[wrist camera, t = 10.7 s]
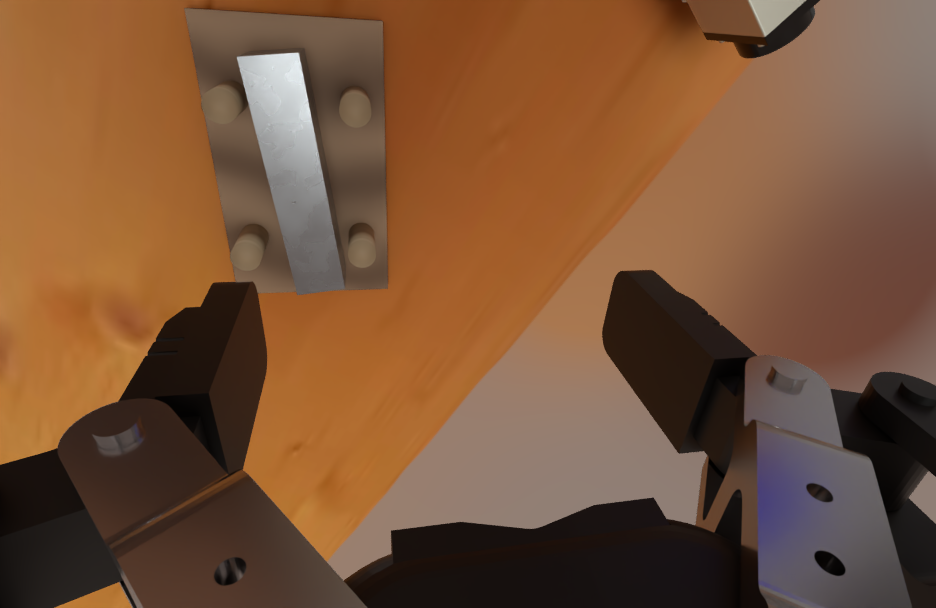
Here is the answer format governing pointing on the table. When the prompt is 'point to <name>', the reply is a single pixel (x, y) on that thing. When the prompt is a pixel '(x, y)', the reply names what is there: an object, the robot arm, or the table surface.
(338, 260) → the bar
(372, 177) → the cradle
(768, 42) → the pneumatic valve
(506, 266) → the table surface
